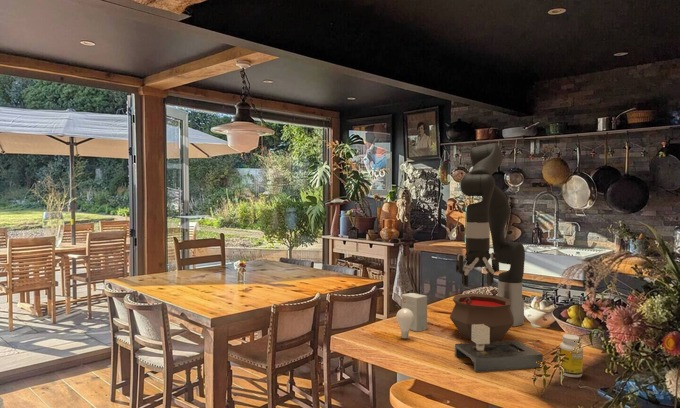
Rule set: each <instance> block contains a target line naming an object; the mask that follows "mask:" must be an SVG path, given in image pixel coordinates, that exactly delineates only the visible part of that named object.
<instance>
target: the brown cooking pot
mask: <svg viewBox="0 0 680 408" xmlns="http://www.w3.org/2000/svg"><path fill="white" fill-rule="evenodd" d="M494 292H495V293H494ZM490 293H491V294H484V293H473V292H472V293H465V294H464V293H463V294H455V295H454V296H453V298H452V301H453V302H454V307H453V309H452V311H451V313H450V316H449V319H450V320H451V322H452V323H453V325H454V326H455V328H456V329H457V331H458V332H459V333H460V335H461V337H462V338H466V339H467V340H469V341H472V340H471V333H472V325H474V324H484V325H486V326H488V327H489V328H490V342H494V341H502V339H503V338H504V336H505V335H506V334H507V333H508V332H509V330H510V329H511V328H512V327H513V326H512V325H513V324H514V317H513V315H512V312H511V310H510V306H511V300H510V299H507V298H503V297H500V296H498V290H496V288H493V289H492V290H491V291H490Z"/></svg>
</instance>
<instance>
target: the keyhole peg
mask: <svg viewBox="0 0 680 408" xmlns="http://www.w3.org/2000/svg"><path fill="white" fill-rule="evenodd" d="M470 341H472V343H476V352H484V344H490V328H489V327H488V326H486V325H484V324H474V325H472V333H471V340H470ZM471 363H472V364H473V365H474V361H473V360H472V359H471Z"/></svg>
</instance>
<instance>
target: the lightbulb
mask: <svg viewBox="0 0 680 408" xmlns="http://www.w3.org/2000/svg"><path fill="white" fill-rule="evenodd" d="M395 319H396V322H397V323H398V325H399V327H400V328H399V329H400V337H401V338H402V339H404V340H406V339H409V336H410V335H409V333H410V332H409V331H410V330H409V329H410V326H411V324H412V323H413V320H414V315H413V313H412V311H411V310H409V309H407V308H403V309H402V308H401V309H399V310H398V311H397V313H396V317H395Z"/></svg>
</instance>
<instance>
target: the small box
mask: <svg viewBox="0 0 680 408" xmlns="http://www.w3.org/2000/svg"><path fill="white" fill-rule="evenodd" d="M403 308H407V309H409V310H411V311H412V313H413V315H414V320H413V323H412V324H411V326H410V329H409V331H413V332H421V331H424V330H427V329H428V295H424V294H420V293H414V292H409V293H403V294H401V309H403Z"/></svg>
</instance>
